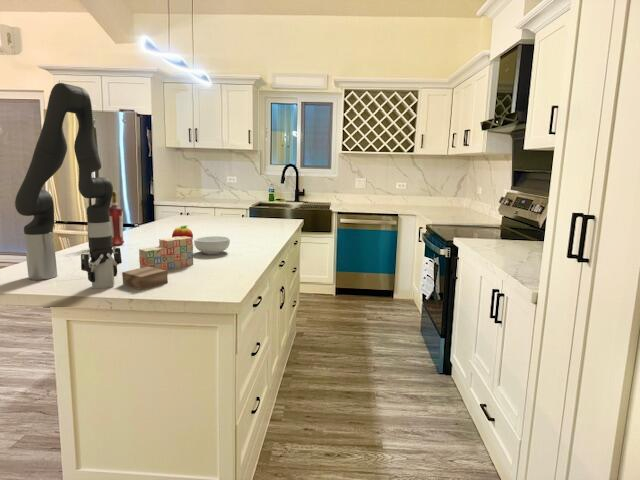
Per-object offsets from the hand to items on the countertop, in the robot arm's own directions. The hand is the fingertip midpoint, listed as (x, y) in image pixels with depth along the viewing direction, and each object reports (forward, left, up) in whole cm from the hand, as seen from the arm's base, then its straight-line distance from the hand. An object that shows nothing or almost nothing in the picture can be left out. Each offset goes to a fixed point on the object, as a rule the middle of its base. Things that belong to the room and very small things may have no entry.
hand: (103, 278), depth 156 cm
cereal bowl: (-6, +64, -3) cm, 64 cm away
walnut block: (+10, +10, -3) cm, 14 cm away
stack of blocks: (-2, +31, -3) cm, 32 cm away
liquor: (-61, +52, -3) cm, 80 cm away
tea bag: (0, 0, -3) cm, 3 cm away
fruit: (-33, +71, -3) cm, 78 cm away
